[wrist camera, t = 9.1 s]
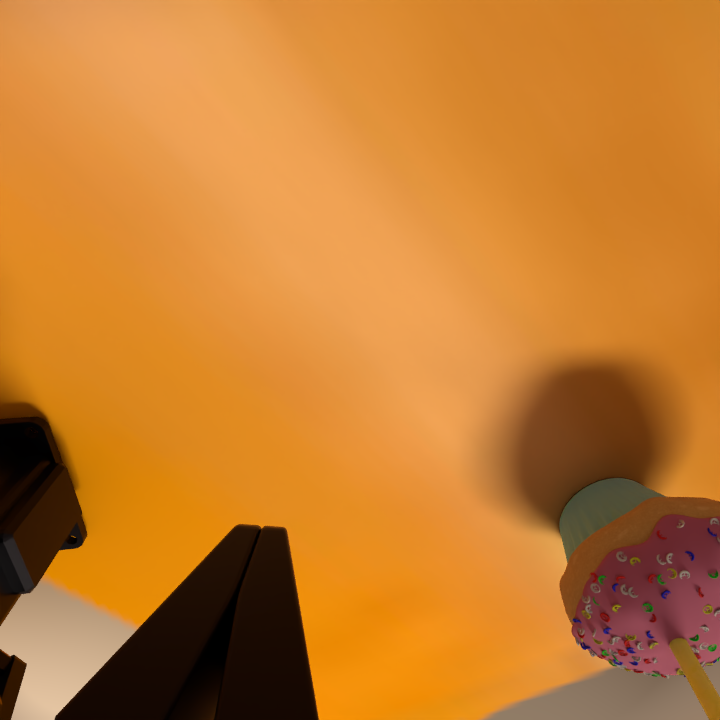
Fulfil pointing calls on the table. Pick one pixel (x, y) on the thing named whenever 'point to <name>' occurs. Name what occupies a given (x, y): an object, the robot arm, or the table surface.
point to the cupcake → (645, 581)
